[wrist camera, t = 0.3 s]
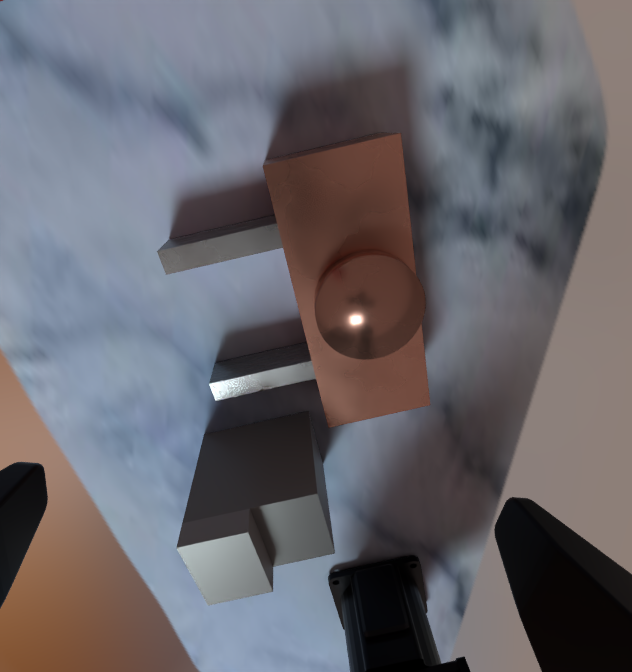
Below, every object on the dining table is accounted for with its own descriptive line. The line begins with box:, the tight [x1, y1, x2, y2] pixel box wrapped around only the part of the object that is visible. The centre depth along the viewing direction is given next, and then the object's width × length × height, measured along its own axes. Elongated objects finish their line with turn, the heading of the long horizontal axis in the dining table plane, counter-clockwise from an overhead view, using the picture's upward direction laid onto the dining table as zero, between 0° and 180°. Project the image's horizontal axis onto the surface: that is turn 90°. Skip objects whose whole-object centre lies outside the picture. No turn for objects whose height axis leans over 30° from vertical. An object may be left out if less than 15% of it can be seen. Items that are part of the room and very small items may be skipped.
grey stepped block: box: [177, 411, 335, 605], centre depth 21 cm, size 4×6×7 cm, turn 102°
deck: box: [157, 132, 430, 428], centre depth 18 cm, size 12×10×4 cm
